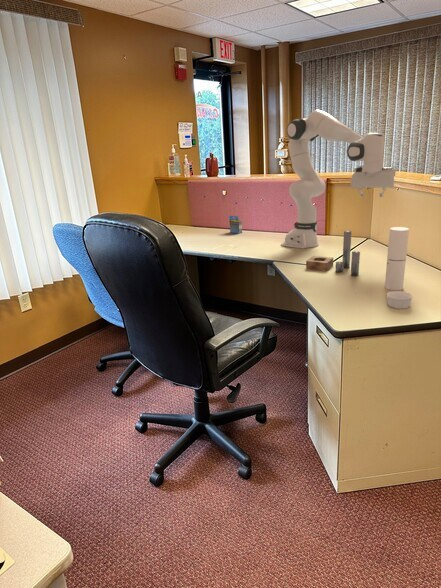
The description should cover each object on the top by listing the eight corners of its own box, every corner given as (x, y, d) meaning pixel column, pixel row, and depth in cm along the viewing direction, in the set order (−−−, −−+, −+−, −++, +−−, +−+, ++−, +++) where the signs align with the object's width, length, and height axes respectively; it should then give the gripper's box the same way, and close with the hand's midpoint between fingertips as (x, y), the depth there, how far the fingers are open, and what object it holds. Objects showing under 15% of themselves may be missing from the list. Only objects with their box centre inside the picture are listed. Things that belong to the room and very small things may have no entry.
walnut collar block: (306, 268, 207) (306, 260, 206) (313, 263, 215) (313, 255, 214) (326, 270, 202) (327, 263, 200) (333, 265, 210) (333, 257, 209)
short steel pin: (334, 272, 199) (335, 263, 198) (336, 270, 202) (337, 261, 201) (341, 272, 198) (342, 263, 196) (343, 270, 201) (344, 262, 199)
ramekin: (385, 308, 155) (386, 297, 153) (385, 300, 162) (386, 290, 161) (411, 310, 152) (413, 299, 150) (410, 302, 159) (411, 291, 158)
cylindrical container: (394, 291, 171) (400, 231, 162) (380, 286, 177) (385, 228, 168) (406, 287, 174) (413, 228, 165) (392, 283, 180) (398, 226, 171)
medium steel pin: (349, 275, 193) (351, 252, 189) (351, 273, 196) (353, 250, 192) (357, 276, 191) (358, 253, 188) (359, 274, 194) (360, 251, 190)
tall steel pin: (341, 267, 205) (343, 231, 199) (343, 266, 208) (345, 230, 202) (348, 268, 204) (350, 232, 197) (350, 266, 206) (352, 230, 200)
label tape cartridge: (242, 232, 297) (242, 215, 293) (239, 233, 295) (238, 216, 290) (233, 231, 303) (232, 214, 299) (229, 232, 300) (228, 215, 296)
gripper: (396, 166, 200) (394, 196, 204) (353, 168, 210) (352, 196, 214) (394, 167, 195) (392, 197, 199) (350, 169, 205) (349, 197, 209)
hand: (371, 196), depth 207 cm, fingers open, 8 cm apart
